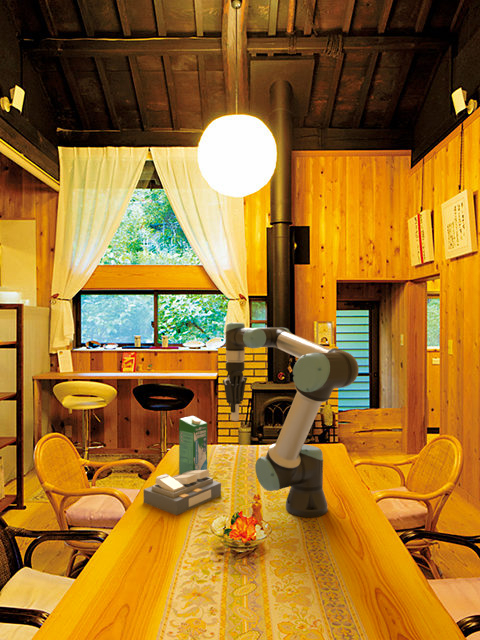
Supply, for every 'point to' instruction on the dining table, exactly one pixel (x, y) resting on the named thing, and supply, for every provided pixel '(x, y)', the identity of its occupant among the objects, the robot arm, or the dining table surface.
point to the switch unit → (183, 495)
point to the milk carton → (192, 444)
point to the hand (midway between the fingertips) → (234, 420)
